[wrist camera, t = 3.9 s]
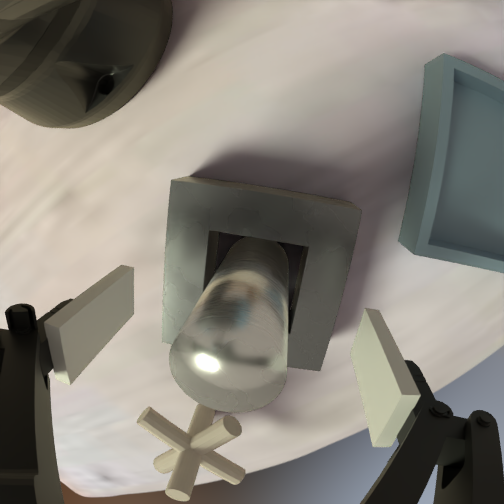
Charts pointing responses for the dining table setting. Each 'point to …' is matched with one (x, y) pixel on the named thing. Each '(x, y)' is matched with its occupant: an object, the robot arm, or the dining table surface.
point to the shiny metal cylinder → (237, 331)
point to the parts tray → (458, 168)
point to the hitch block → (264, 227)
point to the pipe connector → (193, 448)
